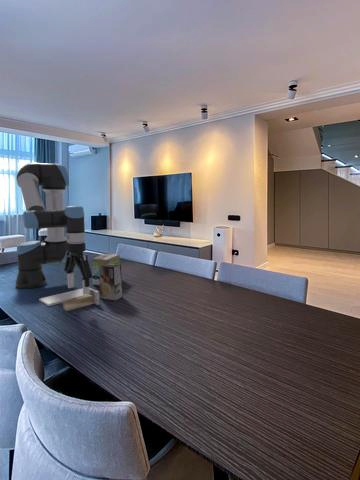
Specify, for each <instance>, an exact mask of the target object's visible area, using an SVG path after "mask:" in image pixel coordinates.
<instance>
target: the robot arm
mask: <svg viewBox="0 0 360 480" xmlns="http://www.w3.org/2000/svg"><path fill="white" fill-rule="evenodd" d="M69 178H70V177H69V175H68V170H67V168H66V166H65V165H63V164H59V163H49V162H48V163H43V162H42V163H41V162H30V163H26V164H25V165H24V166H22V167H21V168H20V169H19V171H18V172H17V174H16V183H17V185H18V187H19V188H20V191H21V194H22V198H23V202H24V205H25V211H23V213H22V221H23V227H24V228H25V229H28V230H29V229H31V230H32V229H34V230H37V229H39V230H40V229H46V232H47V233H46V234H47V236H46V238H45V239H44V242H41V241H40V240H31V241H25V242H22V243H20V244H18V245H17V246H16V255H17V270H18V272H17V275H16V280H15V287H16V288H18V289H25V290H26V289H34V288H35V289H36V288H39V287H43V286H45V285H47V277H46V275H45V273H44V270H43V265H50V264H51V265H52V264H62V263H64V264H65V265H64V269H63V271H64V272H66V275H67V276H66V278H67V279H66V280H67V288H68V289H72V288H75V273H74V272H75V271H74V269H75V267H76V266H77V267H78V269H79V272H80V274H81V276H82V279H81V281H82V282H81V283H82V288H83V295H85V294H89V293H90V288H91V287H90V279H93V272H92V271H91V267H90V264H89V259H88V255H87V254H84V252H85V251H87V250H86V249H87V248H86V231H85V209H84V207H83V206H81V205H68V206H65V208H64V194H63V193H64V192H65V191H66V187H68V186H69V183H70V182H69ZM39 187H41V189H42V191H43V192H44V193H45V204H44V201H43V200H44V199H43V198H42V195H41V191H40V188H39ZM65 233H66V234H65Z"/></svg>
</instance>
